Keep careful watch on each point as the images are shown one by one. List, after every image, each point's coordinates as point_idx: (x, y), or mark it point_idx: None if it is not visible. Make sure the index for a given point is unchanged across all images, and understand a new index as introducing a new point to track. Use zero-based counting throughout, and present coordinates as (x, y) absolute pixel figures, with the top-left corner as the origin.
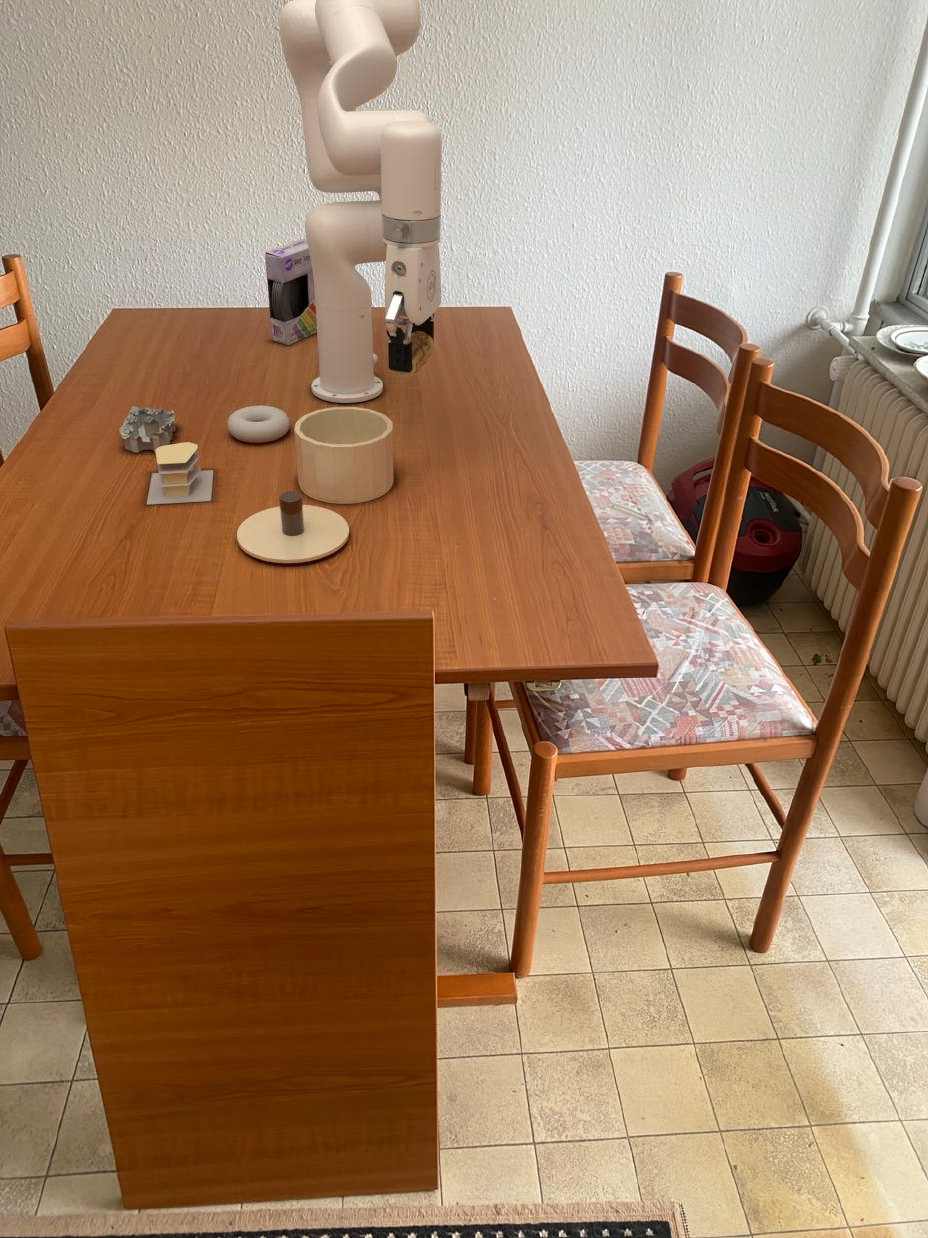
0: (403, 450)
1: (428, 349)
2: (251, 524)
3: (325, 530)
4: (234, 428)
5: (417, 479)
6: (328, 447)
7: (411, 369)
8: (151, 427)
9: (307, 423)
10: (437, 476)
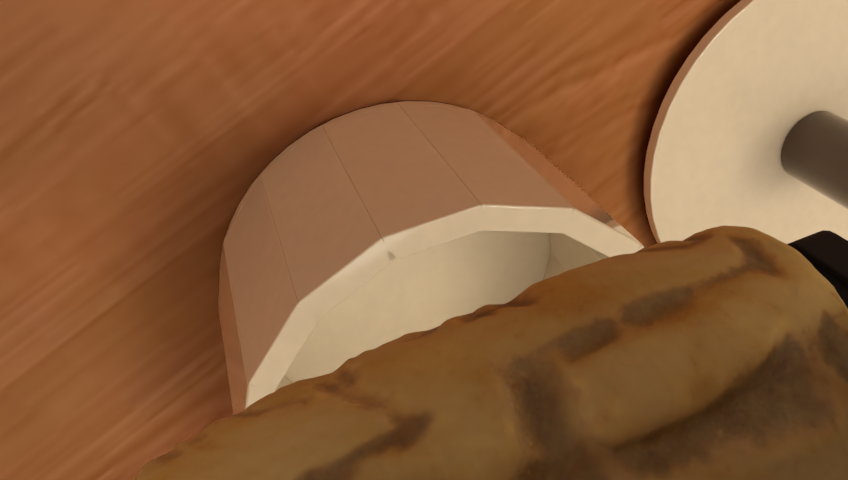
0: (14, 297)
1: (380, 435)
2: None
3: (781, 64)
4: None
5: (206, 76)
6: None
7: (829, 237)
8: None
9: None
10: (115, 19)
